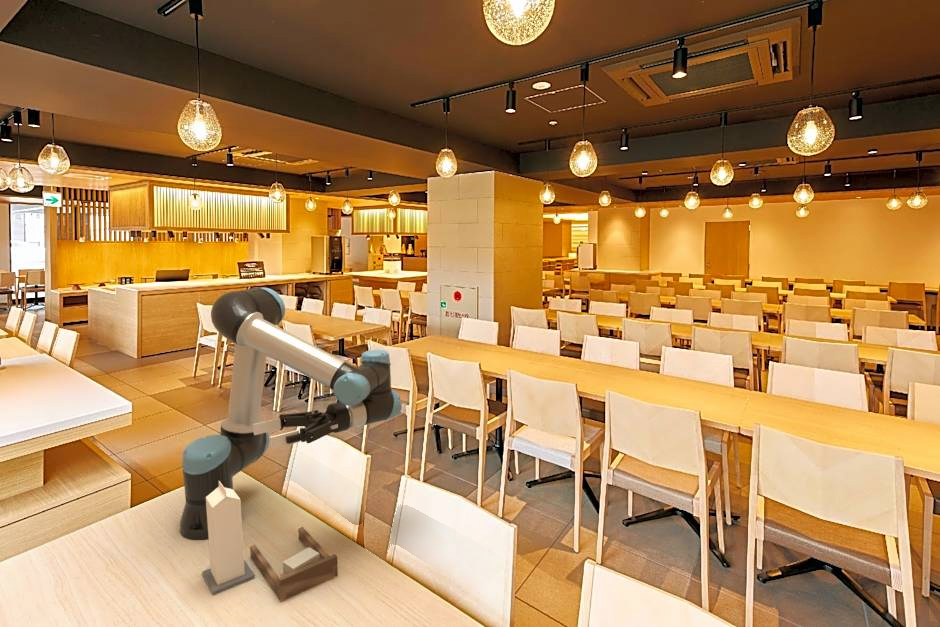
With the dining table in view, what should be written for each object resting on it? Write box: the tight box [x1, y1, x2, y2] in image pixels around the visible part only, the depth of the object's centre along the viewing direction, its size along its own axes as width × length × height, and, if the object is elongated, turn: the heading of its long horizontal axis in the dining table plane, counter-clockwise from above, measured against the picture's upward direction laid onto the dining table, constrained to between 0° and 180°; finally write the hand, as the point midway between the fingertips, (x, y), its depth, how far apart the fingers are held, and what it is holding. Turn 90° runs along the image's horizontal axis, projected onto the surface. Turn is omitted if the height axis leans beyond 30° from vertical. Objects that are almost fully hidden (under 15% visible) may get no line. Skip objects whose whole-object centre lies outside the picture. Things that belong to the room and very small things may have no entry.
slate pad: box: [201, 559, 256, 596], centre depth 120 cm, size 9×9×1 cm
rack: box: [249, 526, 339, 602], centre depth 123 cm, size 20×13×5 cm
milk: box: [206, 481, 245, 585], centre depth 118 cm, size 6×6×22 cm
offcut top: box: [282, 547, 320, 575], centre depth 118 cm, size 4×7×3 cm, turn 143°
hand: (261, 436), depth 121 cm, fingers open, 13 cm apart
